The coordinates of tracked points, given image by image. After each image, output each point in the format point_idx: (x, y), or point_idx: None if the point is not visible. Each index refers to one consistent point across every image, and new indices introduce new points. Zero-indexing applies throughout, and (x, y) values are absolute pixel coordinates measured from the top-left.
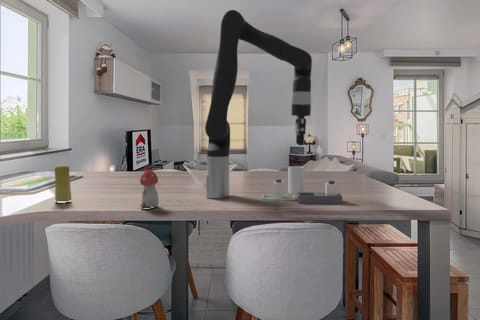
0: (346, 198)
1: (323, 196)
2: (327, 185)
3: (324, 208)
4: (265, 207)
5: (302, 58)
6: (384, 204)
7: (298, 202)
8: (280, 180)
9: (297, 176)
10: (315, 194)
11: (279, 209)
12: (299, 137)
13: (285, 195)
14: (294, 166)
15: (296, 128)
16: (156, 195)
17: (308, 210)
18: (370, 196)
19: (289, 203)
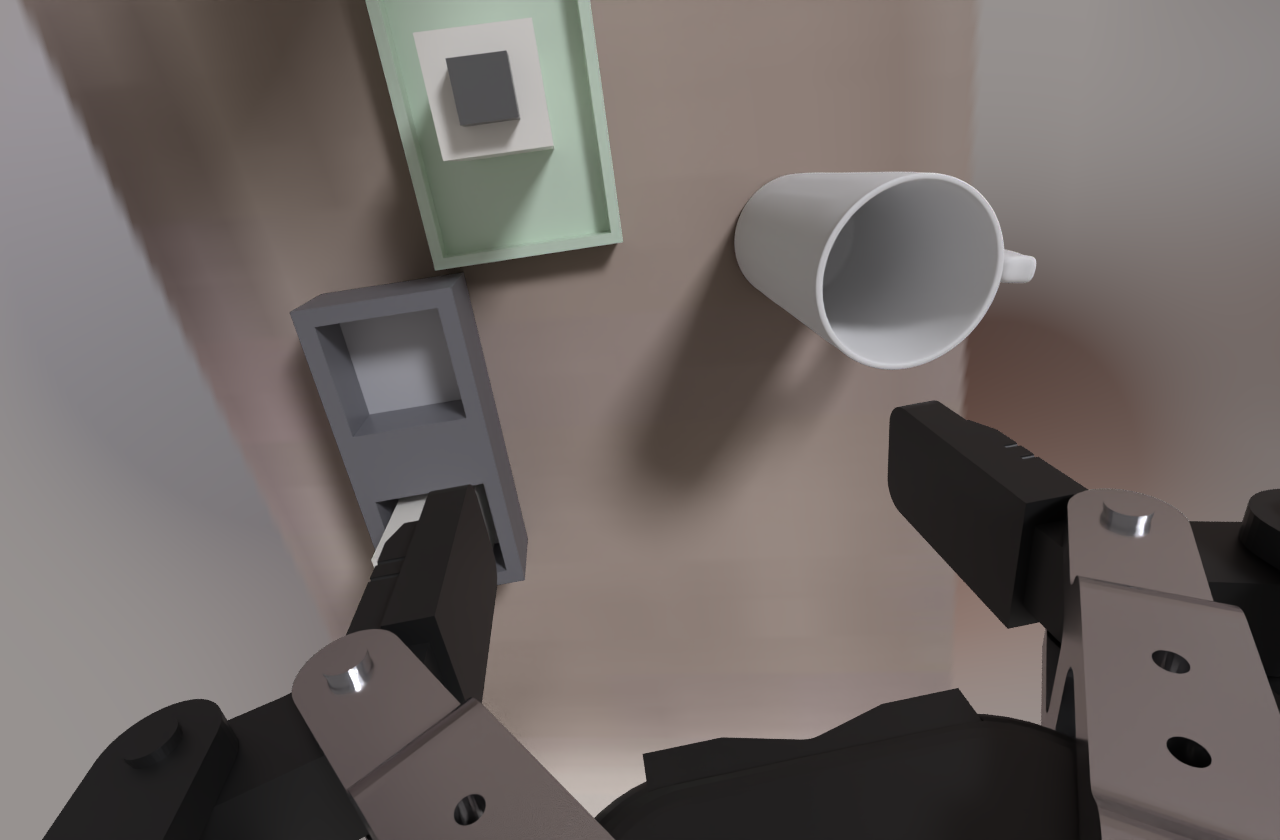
0: (691, 574)
1: (356, 492)
2: (375, 559)
3: (325, 467)
4: (171, 12)
5: None
6: (551, 740)
7: (311, 301)
8: (458, 115)
9: (784, 284)
10: (401, 437)
11: (148, 153)
12: (374, 620)
13: (601, 163)
14: (996, 249)
15: (1076, 661)
16: None
17: (214, 373)
18: (772, 684)
19: (416, 215)
